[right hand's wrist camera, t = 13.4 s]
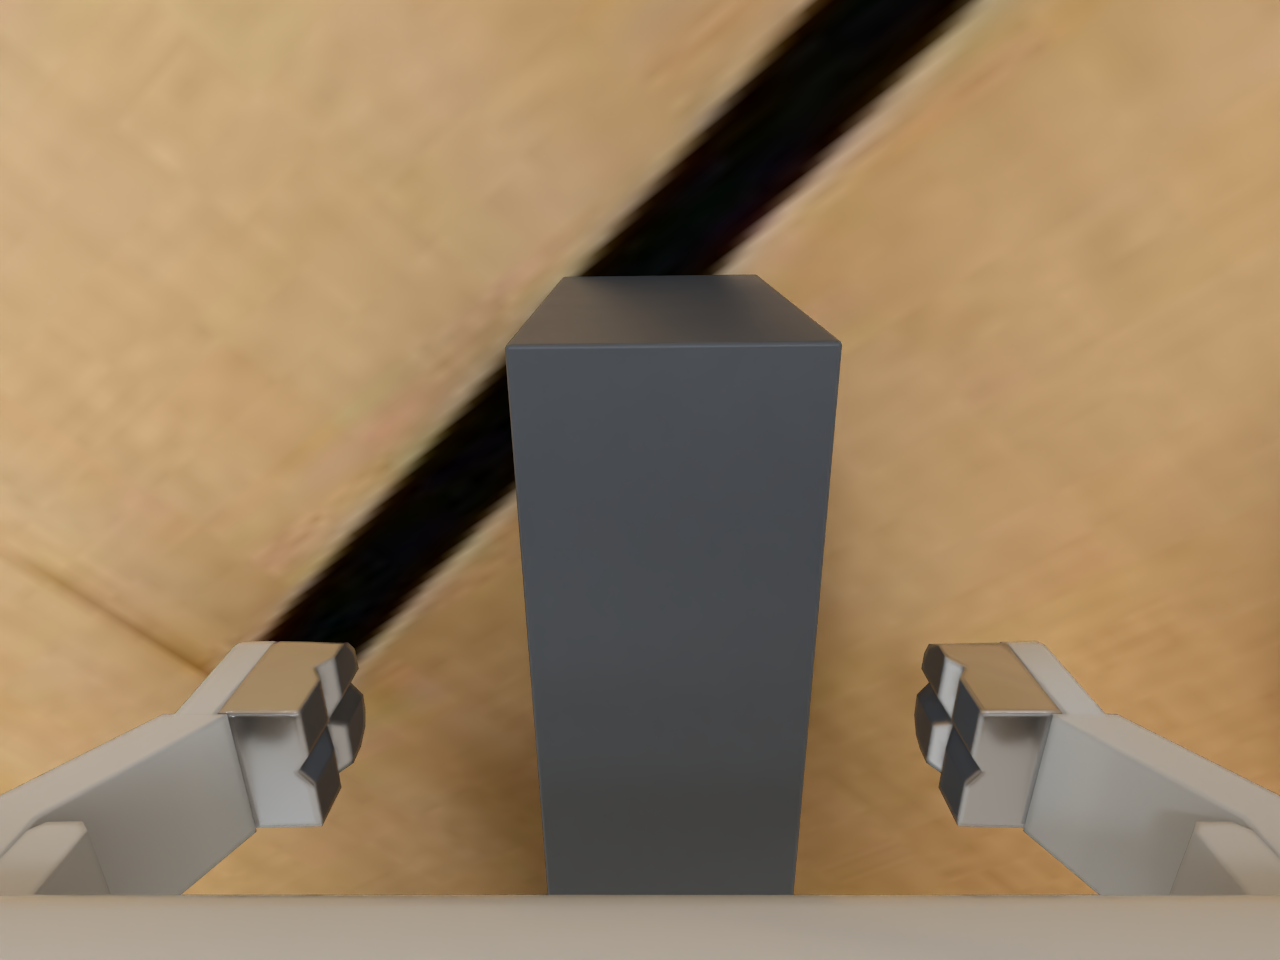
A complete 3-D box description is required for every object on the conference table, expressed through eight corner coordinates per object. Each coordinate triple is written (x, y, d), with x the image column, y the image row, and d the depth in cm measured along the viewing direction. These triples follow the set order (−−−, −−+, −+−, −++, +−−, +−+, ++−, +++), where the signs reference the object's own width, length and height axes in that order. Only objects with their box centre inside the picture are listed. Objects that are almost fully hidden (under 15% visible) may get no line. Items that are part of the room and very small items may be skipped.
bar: (562, 276, 18) (503, 344, 10) (757, 273, 18) (843, 340, 10) (596, 991, 27) (579, 1304, 19) (725, 991, 27) (757, 1303, 19)
